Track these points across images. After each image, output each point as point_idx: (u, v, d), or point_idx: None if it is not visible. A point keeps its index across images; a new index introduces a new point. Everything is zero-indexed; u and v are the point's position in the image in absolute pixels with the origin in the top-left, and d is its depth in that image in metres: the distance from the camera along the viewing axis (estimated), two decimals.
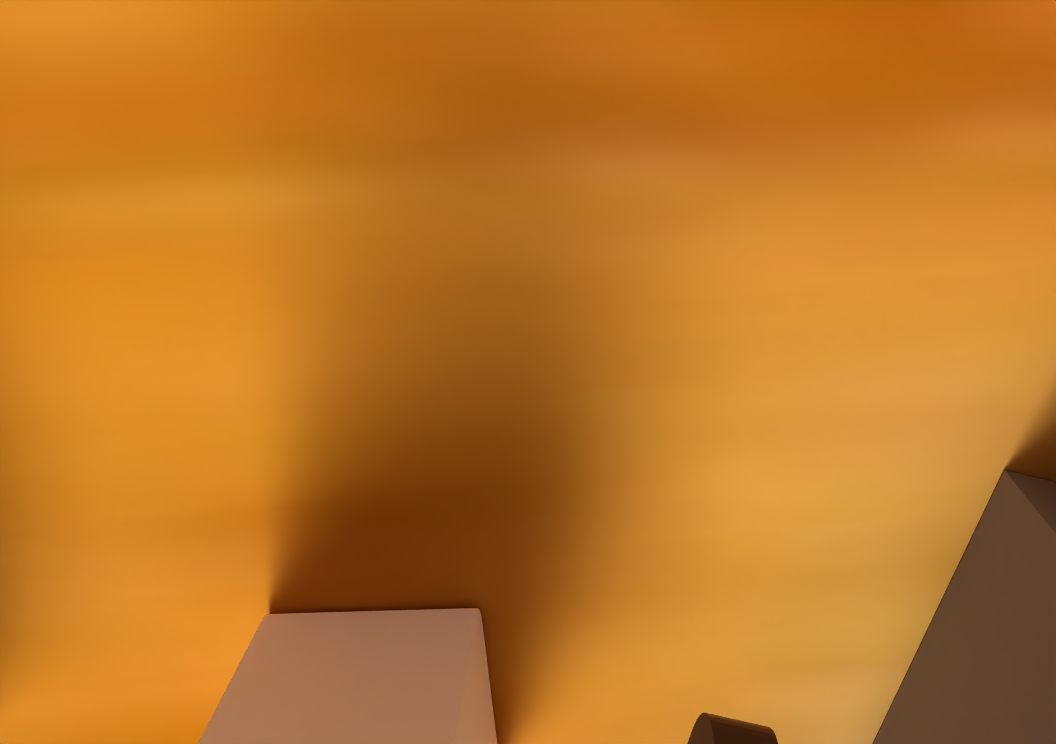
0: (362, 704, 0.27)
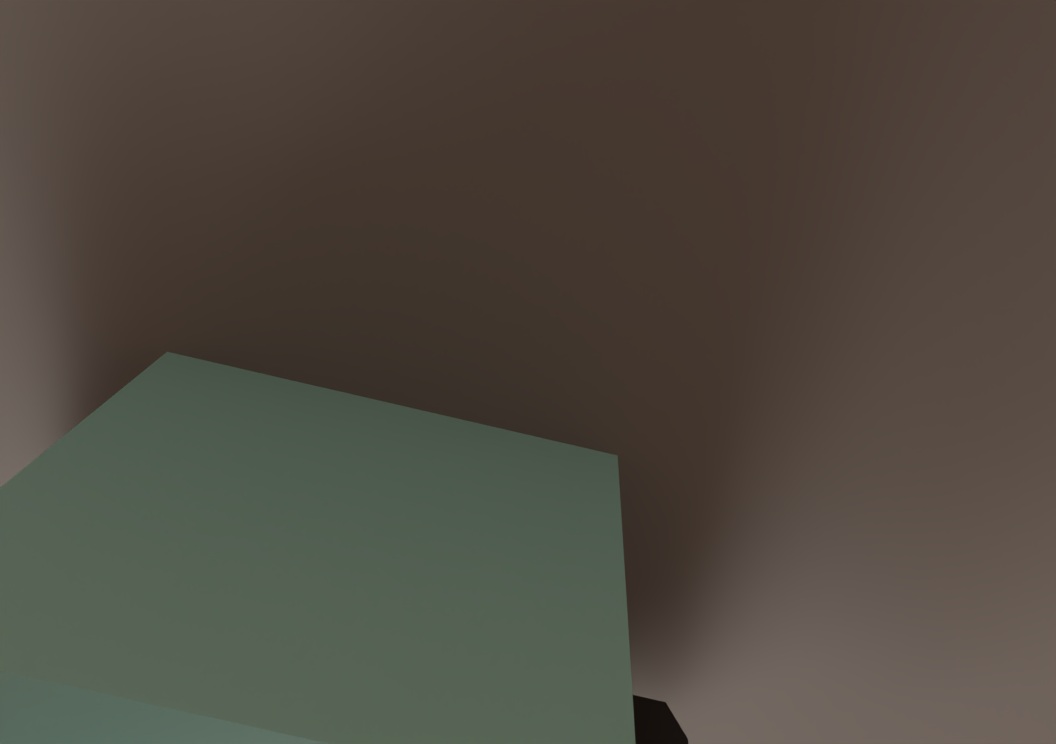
0: None
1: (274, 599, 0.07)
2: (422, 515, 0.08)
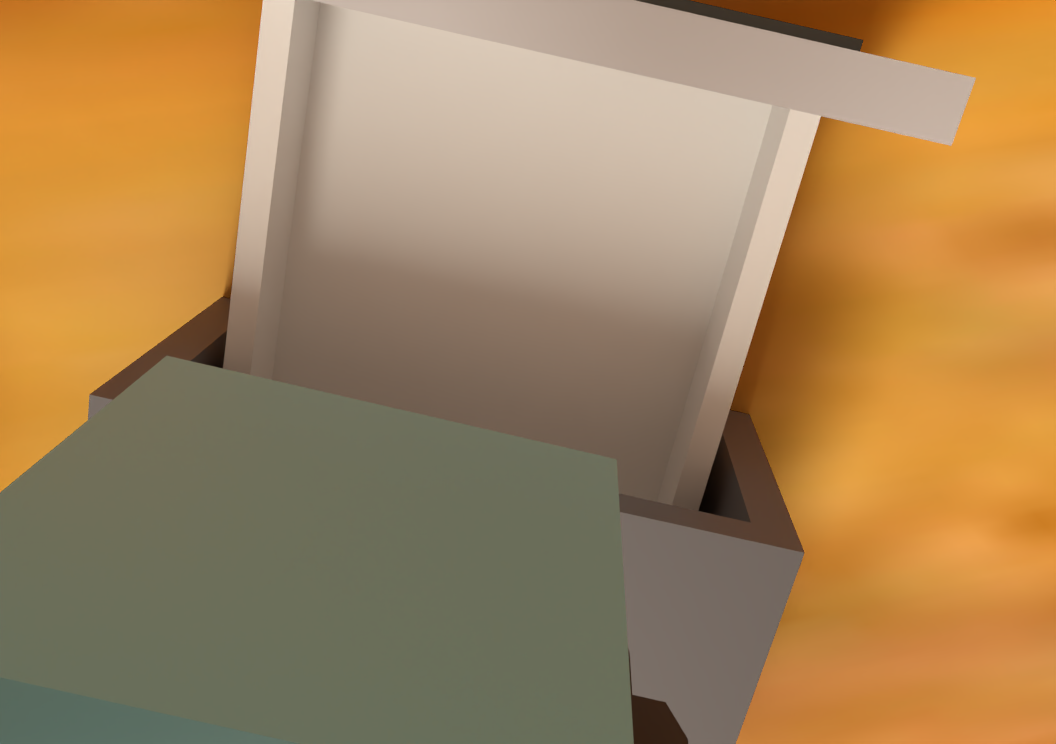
0: None
1: (272, 604, 0.07)
2: (421, 519, 0.09)
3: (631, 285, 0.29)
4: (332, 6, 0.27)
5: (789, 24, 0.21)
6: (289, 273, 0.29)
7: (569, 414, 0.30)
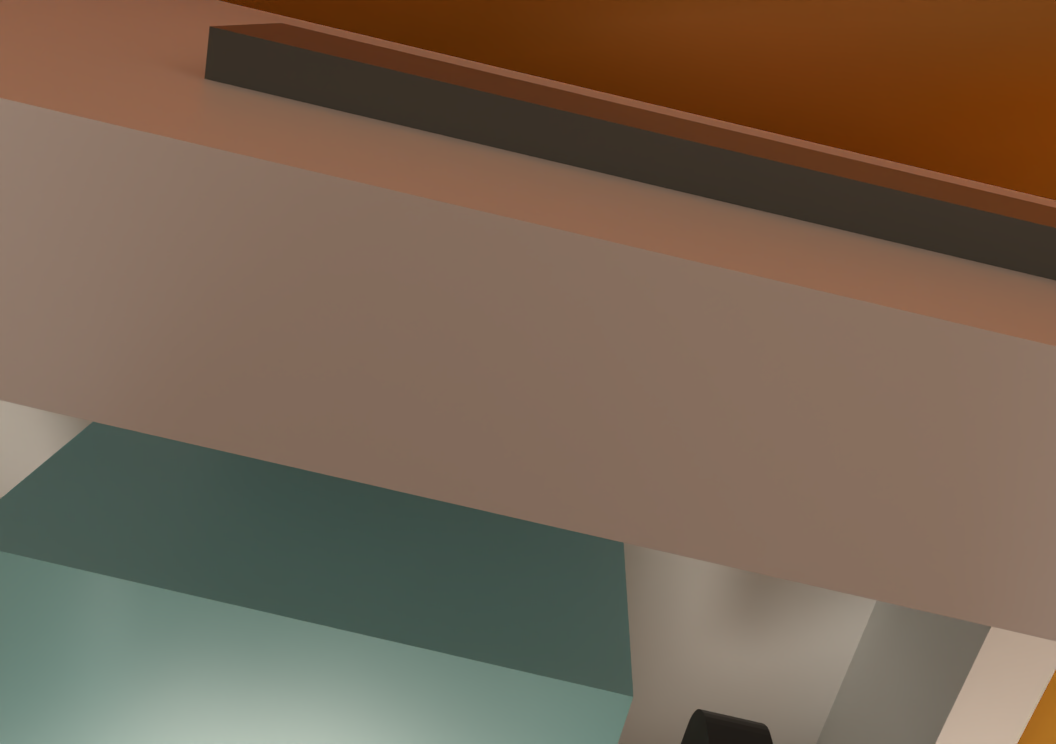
0: None
1: (320, 527, 0.08)
2: None
3: (636, 700, 0.13)
4: None
5: None
6: None
7: None
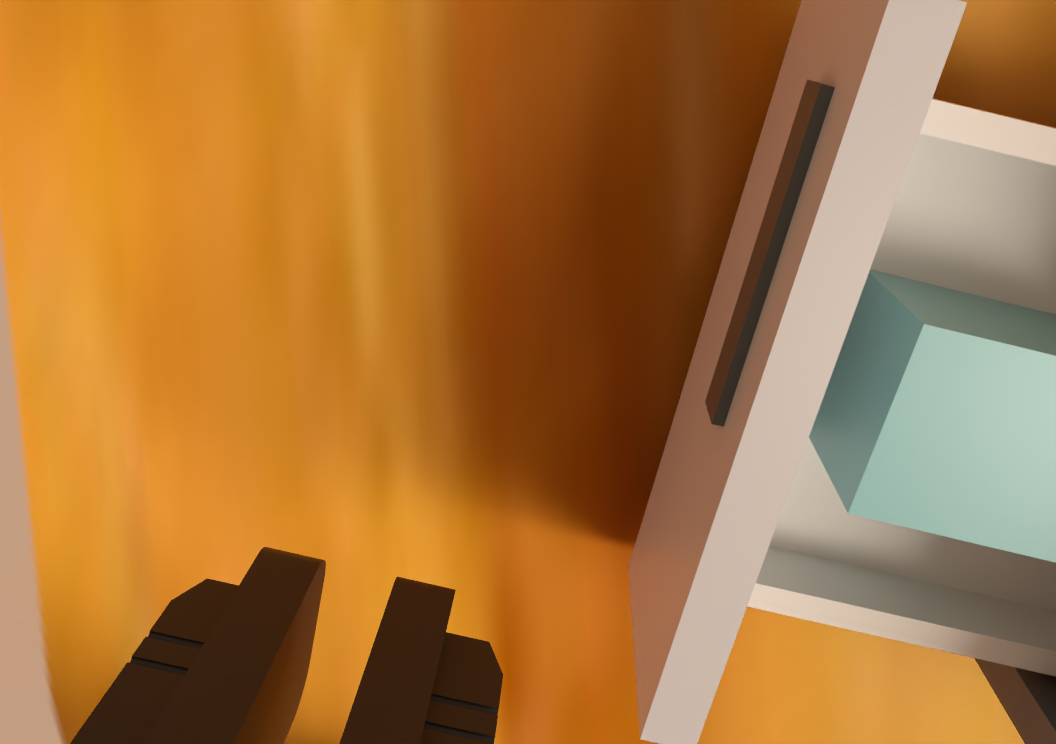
0: None
1: (867, 407, 0.24)
2: (862, 355, 0.25)
3: (1021, 255, 0.26)
4: None
5: (797, 163, 0.21)
6: (951, 583, 0.30)
7: None
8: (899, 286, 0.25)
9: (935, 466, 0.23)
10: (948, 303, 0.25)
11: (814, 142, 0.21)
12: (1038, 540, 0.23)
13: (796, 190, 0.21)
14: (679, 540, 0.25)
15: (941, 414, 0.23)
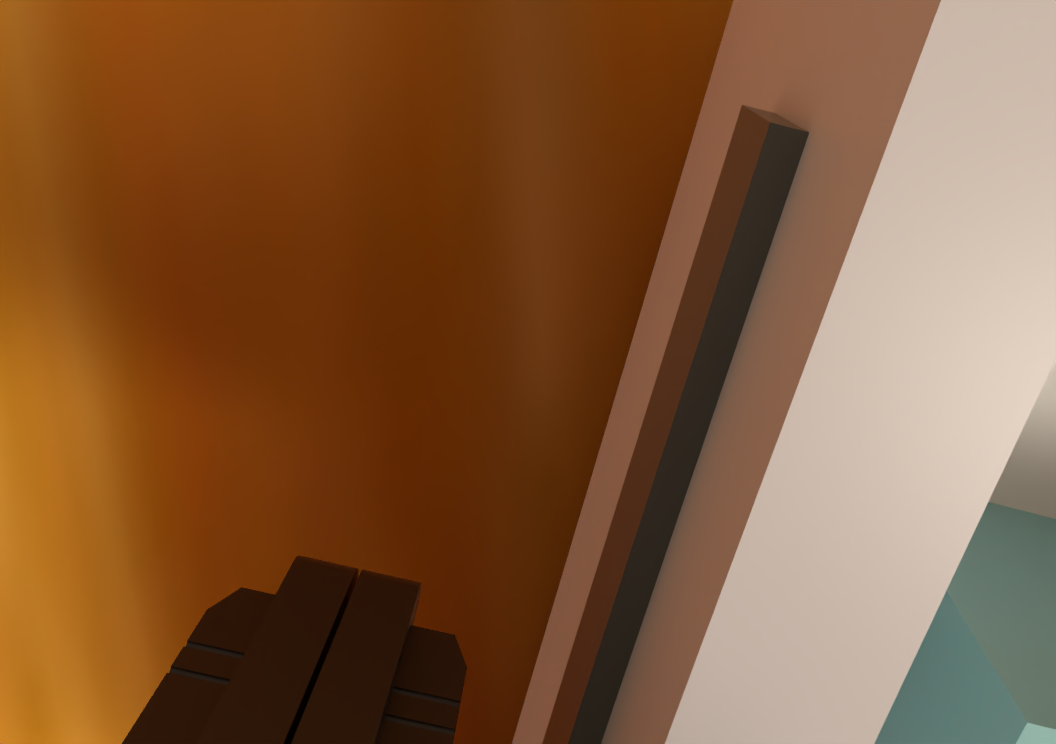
0: None
1: None
2: None
3: None
4: None
5: (705, 336, 0.08)
6: None
7: None
8: None
9: None
10: (1053, 582, 0.12)
11: (752, 281, 0.07)
12: None
13: (705, 401, 0.08)
14: None
15: None
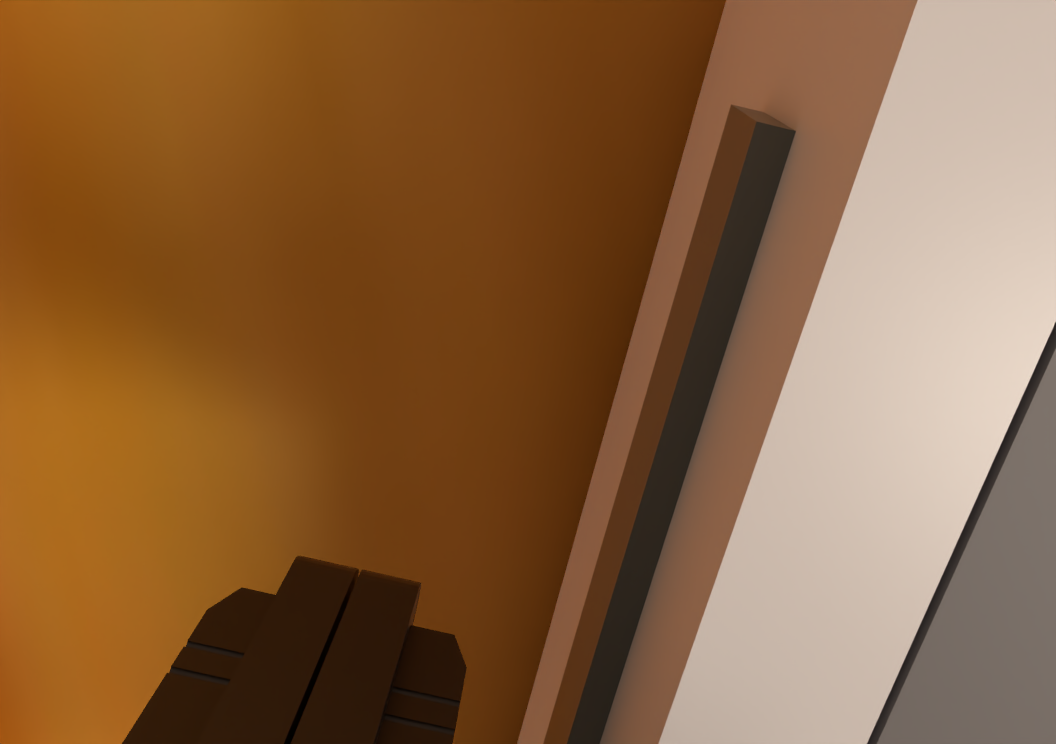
0: None
1: None
2: None
3: None
4: None
5: (695, 335, 0.08)
6: None
7: None
8: None
9: None
10: None
11: (741, 280, 0.08)
12: None
13: (697, 400, 0.08)
14: None
15: None
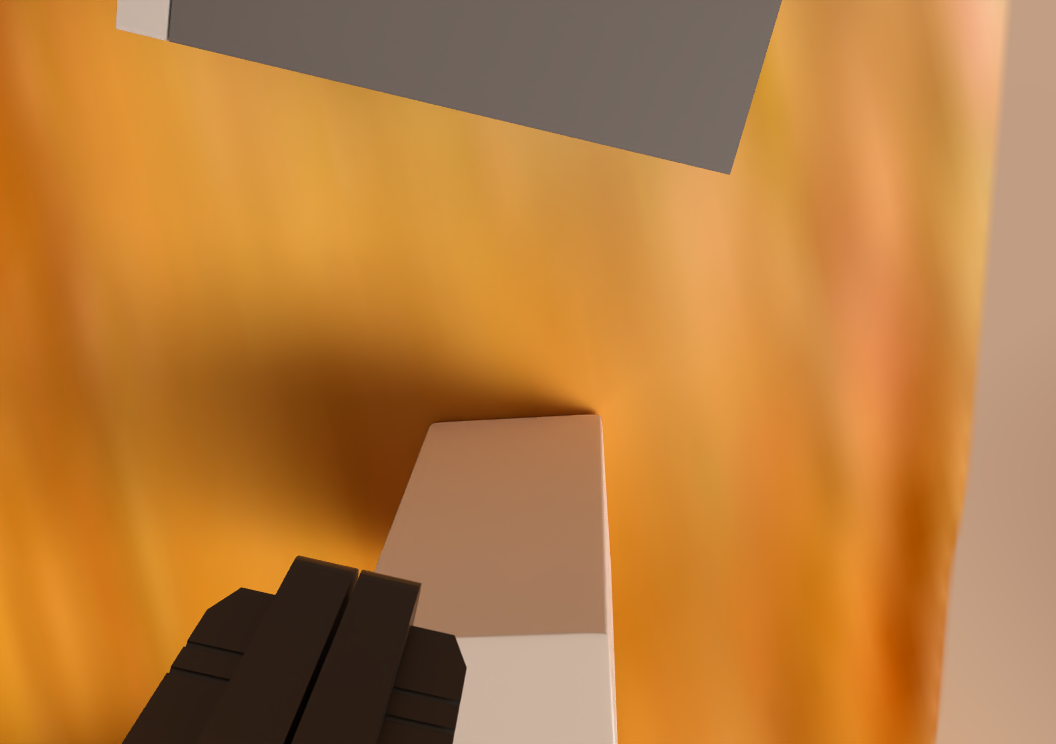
0: None
1: None
2: None
3: None
4: None
5: None
6: None
7: None
8: None
9: None
10: None
11: None
12: None
13: None
14: None
15: None
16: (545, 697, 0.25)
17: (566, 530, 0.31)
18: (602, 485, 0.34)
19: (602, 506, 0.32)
